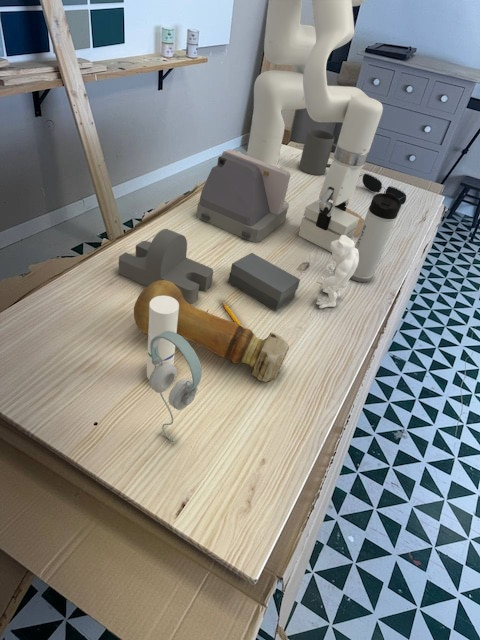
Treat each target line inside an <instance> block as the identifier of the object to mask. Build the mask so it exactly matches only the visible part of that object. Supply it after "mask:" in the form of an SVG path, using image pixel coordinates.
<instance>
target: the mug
mask: <svg viewBox="0 0 480 640" xmlns="http://www.w3.org/2000/svg"><path fill="white" fill-rule="evenodd" d="M336 145H337V143H335V135H333V133H330V132H329V131H326V130H322V129H314V128H313V129H309V130H307V132H306V136H305V141H304V144H303V147H302V152H301V157H300V161H299V169H300V170H301V171H302V172H304V173H307V174H308V175H314V176H321V175H324V174H325V172H326V169H327V168H328V169H329V168H330V166H331V163H329V160H330V156H331V153H332V150H333V148H336Z"/></svg>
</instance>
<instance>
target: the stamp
mask: <svg viewBox="0 0 480 640" xmlns="http://www.w3.org/2000/svg"><path fill="white" fill-rule="evenodd" d="M157 296H170V297H172V298H174V299H176V300H177V301H178V303H179V311H178V322H177V334H179V335H180V336H182V337H183V338H184V339H187V340H188V341H192V342H194V343H196V344H198V345H200V346H202V347H204V348H205V349H207V350H209V351H211V353H214V354H215V355H218V356H219V357H220V358H222V359H229V360H230V361H232V363H233V364H241V363H243V364H246V365H248V366H250V368H251V375H252V376H253V377H255V378H257V380H259V381H260V382H265V383H268V382H269V381H273V380H276V379H277V376H278V375H279V374H280V373H279V372H280V370H281V368H282V365H283V362H284V361H285V360H286V359H285V358H286V357H287V354H288V352H289V349H290V345H289V344H288V342H287V341H286V340H285V339H284V337H282V336H281V335H279V334H277V333H276V332H272V331H270V332H269V334H268V336H267V337H266V338H264V339H262V338H259V337H257V336H256V335H255V334H254V332H253V331H252V329H250V328H245V327H244V326H243V325H242V326H240V325H239V324H238V323H235V322H234V321H231V320H228V319H226V318H222V317H219V316H217V315H215V314H212V313H209V312H207V311H205V310H202V309H200V308H198V307H196V306H194V305H193V304H189V303H187V302H186V301H185V299H184V298H183V295H182V293H181V291H180V289H179V288H178V287H177V286H176V285H175V284H173V283H172V282H170V281H165V280H159V281H156V282H153V283H152V284H150V285H149V286H145V288H144V289H142V291H141V292H140V294H139V295H138V297H137V299H136V300H135V303H134V305H133V319H134V323H135V325H136V327H137V328H138V330H139V331H140V332H141V333H143V334H145V335H148V330H149V305H150V301H151V300H152V299H153V298H154V297H157Z"/></svg>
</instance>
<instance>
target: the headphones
mask: <svg viewBox="0 0 480 640" xmlns="http://www.w3.org/2000/svg"><path fill="white" fill-rule="evenodd" d="M161 338H164V339H166V340H168V341H170V342H171V343H173V344H174V345H175V348H177V349H178V351H179V352H180V353H181V354H182V356H183V357H184V359H185V361H186V363H187V365H188V367H189V370H190V373H191V378H192V379H191V378H189V377H185V378H182V379H180V380H178V381H177V382H176V383H175V384H174V382H175V381H176V378H177V375H178V371H177V370H178V369H177V367H176V366H175V365H172V364H170V363H169V362H163V360H162V358H161V357H160V356H159V351H158V344H159V341H160V339H161ZM150 348H151V355H152V356H151V357H152V363H153V365H154V366H155V368H154V370H153V372H152V373H151V375H150V378H149V379H148V386H149V387H150V388H151V390H153V391H154V392H155V393H157V394H160V397H161V399H162V401H163V402H164V404H165V406H166V408H167V410H168V412H169V414H170V417H171V422H170V423H164V424H162V426H161V428H162V433H163V434H164V436H165V437H166V438H167V439H168V440H169V441H171V442H172V443H175V441H176V440H173V439H172V438H171V437H169V436H168V435H167V433H166V430H165V426H171V425H173V423H174V416H173V413H172V411H171V408H170V407H169V405H170V406H172V407H173V408H174V409H175V410H176V411H181V410H184V409H186V408H187V407H188V406H189V405H191V403H193V402H194V400H195V397H196V394H197V392H198V386H199V384H200V382H201V380H202V365H201V362H200V359H199V356H198V355H197V353H196V351H195V349H194V348H193V347H192V346H191V344H190V343H189V341H188V340H186V338H185V337H182V336H180V335H179V334H177V333H175V332H172V331H165V332H163V333H162V334H160V335H158V336H156V337H154V338H153V339H152V341H151V344H150ZM160 362H161V364H160ZM157 364H159V365H158V366H157V367H156V365H157ZM173 384H174V385H173ZM172 386H173V387H172ZM171 387H172V388H171ZM169 388H171V389H170V392H169V393H168V399H167V400H168V403H167V401H166V400H165V398H164V395H163V393H164V392H166V391H167V390H169ZM168 404H169V405H168Z"/></svg>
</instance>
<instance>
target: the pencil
mask: <svg viewBox="0 0 480 640" xmlns="http://www.w3.org/2000/svg"><path fill="white" fill-rule="evenodd" d="M222 305H223V308H224V309H225V311H226V312H227V313H228V315H229V317H230V318H231V319H232V321H233V322H235V323H238V324H239V325H240V326H242V327H243V325H242V324H241V322H240V321H239V320H238V318H237V317H236V315H235V314H234V313H233V311H232V310H231V309H230V307H229V306H228V305H227V304H226V303H225V302H224V301H222Z"/></svg>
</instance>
